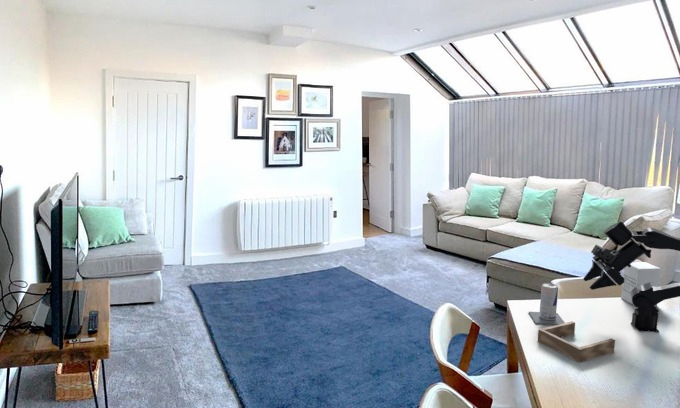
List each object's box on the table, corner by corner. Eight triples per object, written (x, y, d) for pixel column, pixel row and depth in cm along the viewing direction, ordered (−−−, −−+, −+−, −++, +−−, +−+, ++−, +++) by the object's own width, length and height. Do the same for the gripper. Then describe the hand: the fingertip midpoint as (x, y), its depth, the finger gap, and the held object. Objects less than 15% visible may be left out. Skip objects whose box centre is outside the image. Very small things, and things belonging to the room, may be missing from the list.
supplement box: (641, 297, 194) (645, 261, 192) (657, 306, 186) (662, 268, 183) (620, 298, 194) (623, 261, 191) (634, 306, 185) (639, 268, 182)
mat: (557, 314, 177) (557, 313, 177) (565, 325, 167) (565, 324, 167) (528, 313, 178) (528, 311, 178) (535, 324, 169) (535, 322, 168)
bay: (571, 332, 162) (572, 321, 161) (613, 352, 148) (615, 339, 147) (537, 341, 156) (538, 329, 155) (578, 362, 142) (580, 349, 141)
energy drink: (558, 317, 173) (560, 285, 171) (552, 322, 169) (554, 289, 167) (543, 313, 176) (545, 281, 174) (536, 317, 173) (539, 285, 171)
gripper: (601, 232, 174) (565, 260, 178) (617, 245, 156) (576, 275, 160) (623, 255, 173) (587, 282, 178) (641, 270, 155) (600, 300, 160)
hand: (587, 284), depth 169 cm, fingers open, 9 cm apart
